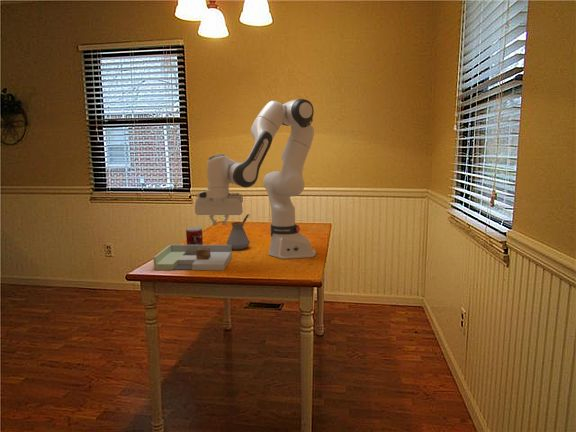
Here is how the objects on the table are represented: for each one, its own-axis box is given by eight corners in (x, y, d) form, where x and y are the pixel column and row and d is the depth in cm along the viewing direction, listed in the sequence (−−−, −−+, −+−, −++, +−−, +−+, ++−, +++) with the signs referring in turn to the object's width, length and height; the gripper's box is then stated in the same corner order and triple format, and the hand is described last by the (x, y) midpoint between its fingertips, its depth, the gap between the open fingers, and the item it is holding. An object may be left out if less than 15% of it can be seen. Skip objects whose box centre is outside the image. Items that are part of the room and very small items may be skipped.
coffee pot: (244, 251, 194) (243, 221, 191) (222, 250, 197) (221, 220, 194) (259, 241, 214) (258, 214, 212) (239, 240, 217) (238, 213, 215)
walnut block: (210, 256, 177) (210, 247, 177) (208, 259, 172) (207, 250, 172) (199, 256, 177) (198, 247, 177) (196, 259, 173) (196, 250, 172)
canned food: (187, 252, 192) (186, 230, 191) (186, 248, 200) (185, 227, 198) (203, 251, 194) (202, 229, 193) (202, 247, 202) (201, 226, 200)
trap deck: (231, 256, 186) (231, 244, 185) (223, 270, 165) (223, 257, 164) (170, 256, 187) (169, 244, 186) (154, 270, 166) (153, 257, 165)
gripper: (243, 192, 173) (244, 223, 175) (196, 192, 173) (198, 223, 176) (241, 194, 166) (242, 226, 169) (193, 194, 167) (194, 226, 169)
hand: (219, 225), depth 172 cm, fingers open, 3 cm apart
